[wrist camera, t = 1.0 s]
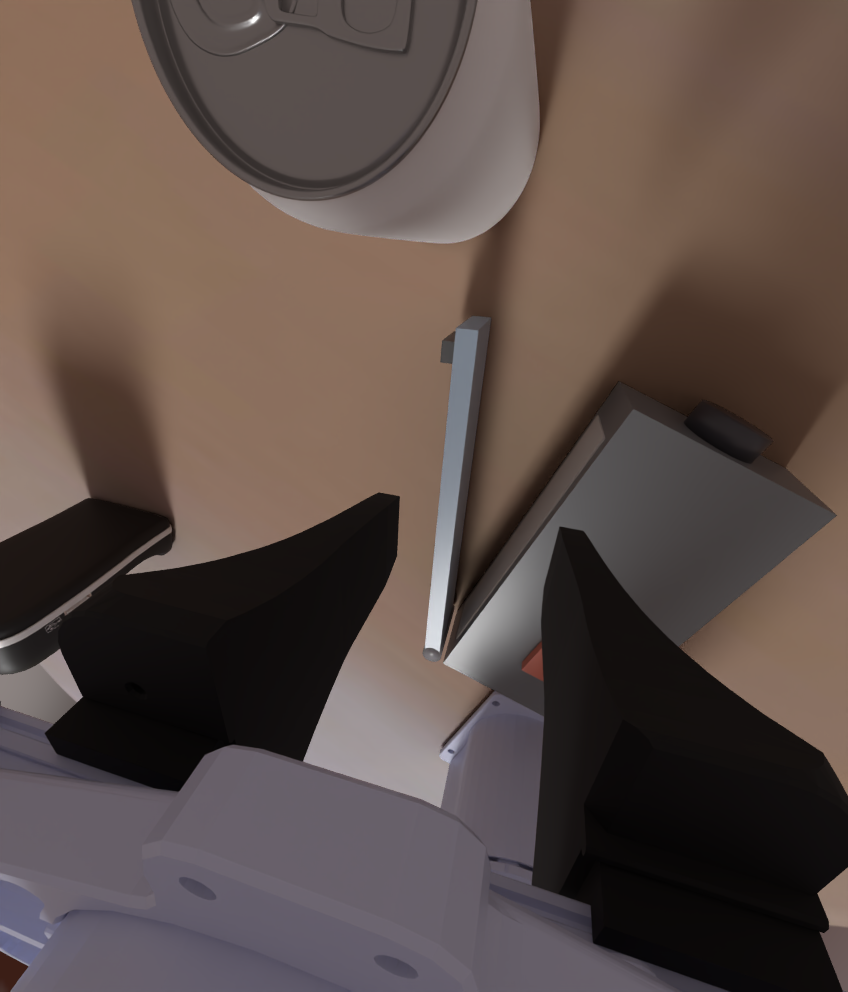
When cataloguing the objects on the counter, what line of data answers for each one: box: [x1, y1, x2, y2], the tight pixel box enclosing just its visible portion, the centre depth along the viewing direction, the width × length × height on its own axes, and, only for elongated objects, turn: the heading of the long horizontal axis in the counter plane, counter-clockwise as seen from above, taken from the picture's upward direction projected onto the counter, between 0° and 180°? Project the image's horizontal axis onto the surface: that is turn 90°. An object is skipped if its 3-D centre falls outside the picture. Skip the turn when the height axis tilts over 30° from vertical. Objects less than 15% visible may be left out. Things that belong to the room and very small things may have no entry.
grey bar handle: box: [423, 316, 491, 662], centre depth 21 cm, size 17×2×4 cm, turn 176°
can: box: [131, 0, 540, 243], centre depth 11 cm, size 6×6×12 cm
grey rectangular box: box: [443, 382, 837, 716], centre depth 21 cm, size 17×8×4 cm, turn 156°
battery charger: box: [0, 498, 172, 675], centre depth 26 cm, size 7×4×11 cm, turn 84°
